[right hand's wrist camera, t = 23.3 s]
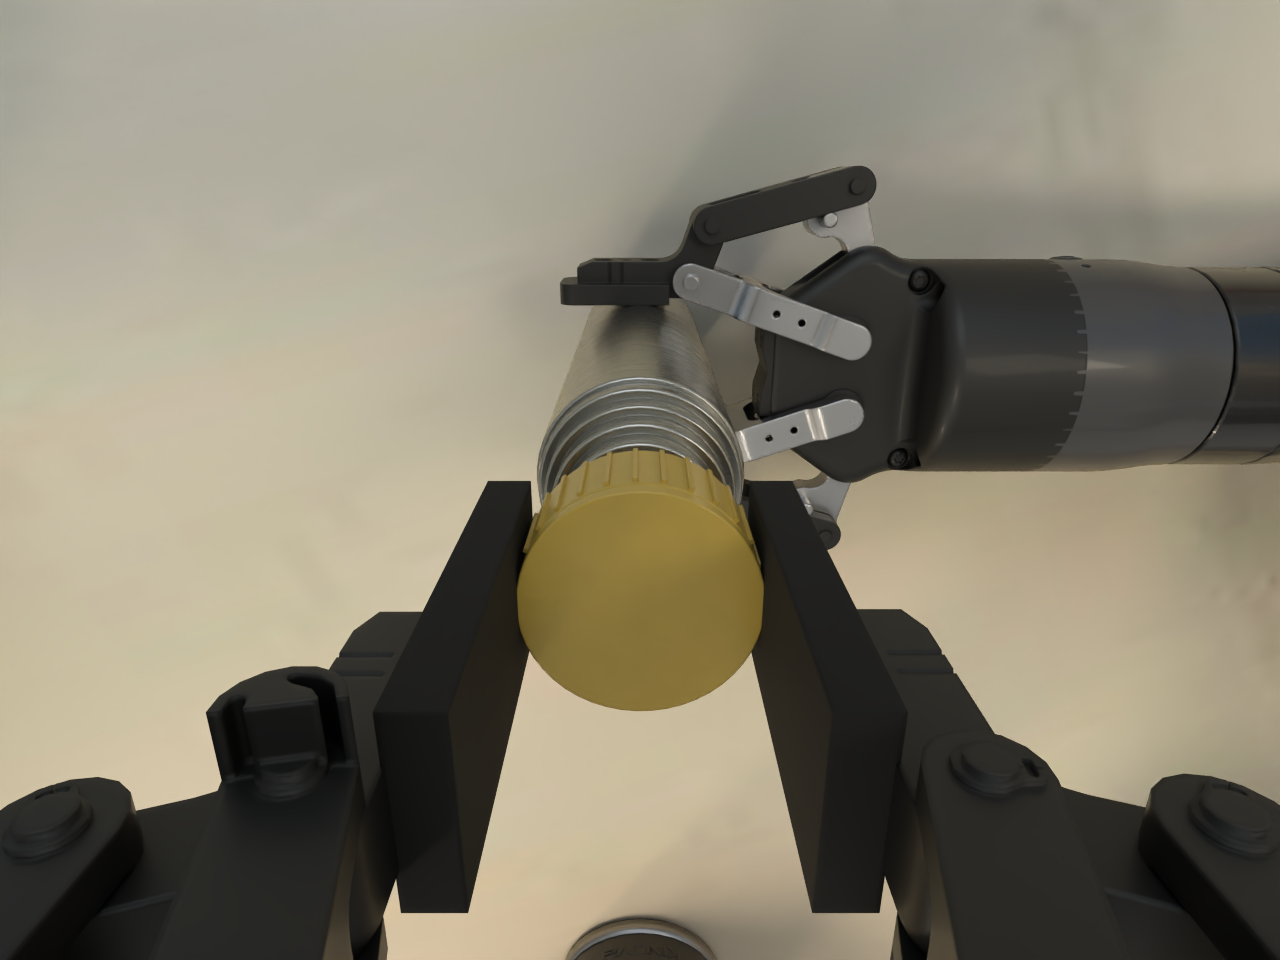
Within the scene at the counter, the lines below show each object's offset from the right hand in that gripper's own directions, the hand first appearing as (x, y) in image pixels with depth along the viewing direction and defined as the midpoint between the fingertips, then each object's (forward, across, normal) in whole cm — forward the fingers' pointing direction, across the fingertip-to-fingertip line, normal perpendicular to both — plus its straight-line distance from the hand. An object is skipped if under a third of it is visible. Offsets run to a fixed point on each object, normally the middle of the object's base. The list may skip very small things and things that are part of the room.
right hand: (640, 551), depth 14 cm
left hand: (+15, -3, 0) cm, 15 cm away
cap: (-2, 0, 0) cm, 2 cm away
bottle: (+21, 0, 0) cm, 21 cm away
